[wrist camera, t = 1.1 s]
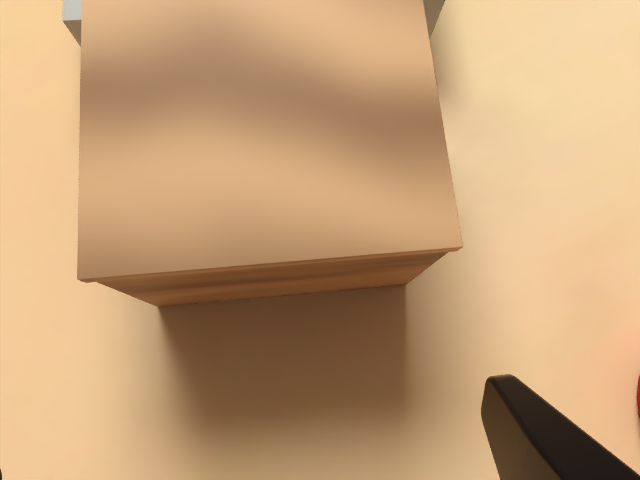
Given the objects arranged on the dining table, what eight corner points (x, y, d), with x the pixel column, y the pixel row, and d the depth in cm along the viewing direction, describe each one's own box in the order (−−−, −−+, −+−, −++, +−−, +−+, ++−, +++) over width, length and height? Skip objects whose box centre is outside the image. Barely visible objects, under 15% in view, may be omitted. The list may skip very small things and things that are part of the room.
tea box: (407, 286, 23) (462, 246, 15) (156, 309, 23) (77, 279, 15) (380, 84, 26) (416, -43, 18) (152, 99, 25) (82, -26, 17)
